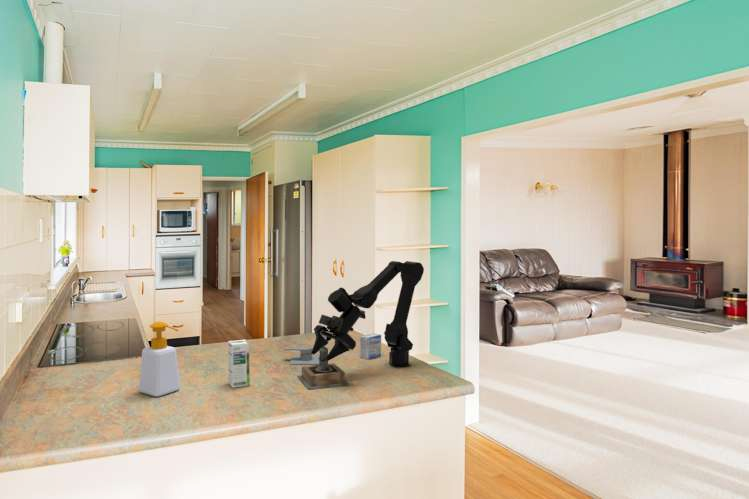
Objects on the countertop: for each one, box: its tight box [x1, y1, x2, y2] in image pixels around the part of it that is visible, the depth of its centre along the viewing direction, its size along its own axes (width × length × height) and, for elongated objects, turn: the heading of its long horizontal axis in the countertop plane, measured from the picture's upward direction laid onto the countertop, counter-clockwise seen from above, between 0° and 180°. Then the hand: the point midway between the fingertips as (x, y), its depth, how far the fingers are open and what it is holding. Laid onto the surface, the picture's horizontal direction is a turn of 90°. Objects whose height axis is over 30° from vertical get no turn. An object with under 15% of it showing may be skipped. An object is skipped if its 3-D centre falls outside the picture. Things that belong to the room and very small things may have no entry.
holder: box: [297, 362, 350, 390], centre depth 186 cm, size 14×14×4 cm
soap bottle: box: [138, 321, 181, 397], centre depth 171 cm, size 10×14×22 cm
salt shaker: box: [315, 345, 332, 374], centre depth 185 cm, size 6×6×12 cm
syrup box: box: [227, 339, 251, 389], centre depth 180 cm, size 6×6×14 cm
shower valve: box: [284, 346, 320, 366], centre depth 211 cm, size 12×6×15 cm
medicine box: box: [359, 332, 382, 360], centre depth 217 cm, size 8×4×9 cm, turn 139°
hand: (319, 356), depth 184 cm, fingers open, 9 cm apart
